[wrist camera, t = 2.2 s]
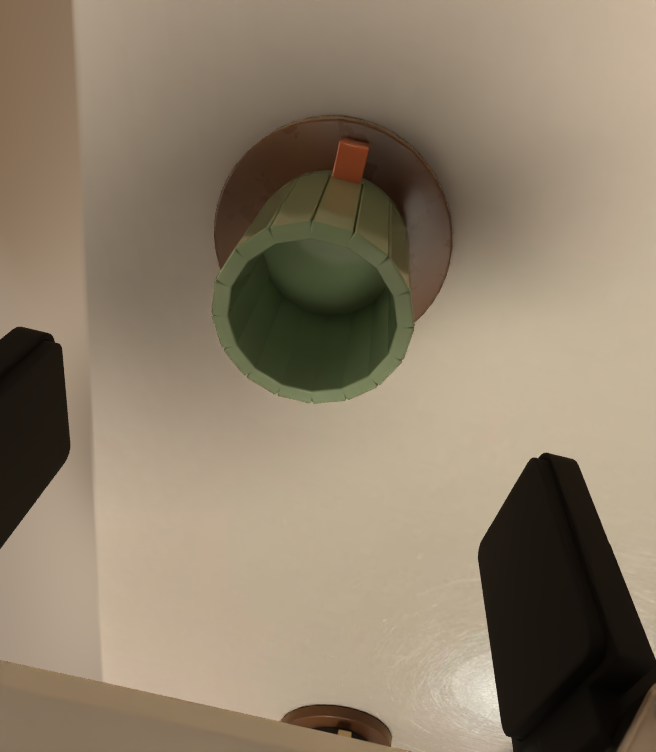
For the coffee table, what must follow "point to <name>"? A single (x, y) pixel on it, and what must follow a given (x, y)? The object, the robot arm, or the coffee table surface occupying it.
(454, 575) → the coffee table surface
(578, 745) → the robot arm
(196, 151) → the coffee table surface
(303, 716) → the dark base
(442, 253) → the brown dish
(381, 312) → the green grooved mug
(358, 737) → the dark bucket
